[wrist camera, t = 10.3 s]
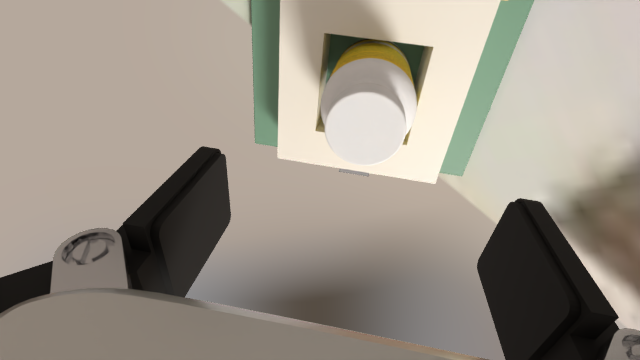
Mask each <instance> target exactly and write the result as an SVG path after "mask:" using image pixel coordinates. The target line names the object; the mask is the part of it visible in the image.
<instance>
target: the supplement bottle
mask: <svg viewBox="0 0 640 360" xmlns="http://www.w3.org/2000/svg"><path fill="white" fill-rule="evenodd" d="M416 111H417V98H416V93H415V88H414V84H413V80H412V75H411V71H410V67H409V63H408V60H407V58H406V56H405V54H404V53H403V51H402V50H401V49H400V48H399V47H398V46H397V45H396V44H394V43H393V42H391V41H384V40H376V39H368V38H365V39H362V40H359V41H357V42H355V43H353V44H352V45H350V46H349V47H348V48H347V49H346V50H345V51H344V52H343V53H342V55H341V56H340V58H339V60H338V61H337V63H336V65H335V67H334V69H333V71H332V73H331V75H330V77H329V79H328V81H327V83H326V85H325V88H324V91H323V94H322V98H321V116H322V120H323V123H324V126H325V127H324V129H325V136H326V140H327V142H328V144H329V146H330V148H331V149H332V150H333V152H334V153H335V154H336V155H337V156H339V157H340V158H341V159H343V160H345V161H347V162H349V163H352V164H355V165H362V166H368V165H375V164H379V163H382V162H384V161H386V160H388V159H389V158H391V157H392V156H393V155H394V154H395V153H396V152H397V151H398V150H399V149H400V147H401V146H402V144H403V142H404V139H405V136H406V134H407V133H408V132H409V130H410V129H411V127H412V125H413V123H414V120H415V116H416Z"/></svg>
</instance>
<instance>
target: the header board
mask: <svg viewBox="0 0 640 360" xmlns="http://www.w3.org/2000/svg"><path fill="white" fill-rule="evenodd" d="M533 2H534V0H251V12H252V44H253V45H252V46H253V83H254V84H253V85H254V120H255V121H254V122H255V143H257V144H263V145H270V146H276V147H278V157H277V158H280V159H287V160H293V161H299V162H304V163H311V164H317V165H323V166H329V167H336V168H339V172H344V173H351V174H357V175H363V176H369V173H372V174H378V175H384V176H391V177H396V178H403V179H409V180H415V181H421V182H427V183H433V184H435V183H436V180H437V177H438V174H439V173H444V174H451V175H457V176H462V175H463V173H464V171H465V168H466V166H467V163H468V161H469V158H470V156H471V154H472V151H473V149H474V146H475V144H476V141H477V139H478V136H479V134H480V132H481V129H482V127H483V124H484V122H485V119H486V117H487V114H488V112H489V110H490V107H491V105H492V102H493V100H494V97H495V95H496V92H497V90H498V88H499V85H500V83H501V80H502V78H503V75H504V73H505V70H506V68H507V66H508V63H509V61H510V58H511V56H512V53H513V51H514V48H515V46H516V44H517V41H518V39H519V36H520V34H521V31H522V29H523V26H524V24H525V22H526V19H527V17H528V14H529V12H530V9H531V7H532V4H533ZM365 38H368V39H376V40H384V41H391V42H393V43H394V44H396V45H397V46H398V47H399V48H400V49H401V50H402V51H403V53H404V54H405V56H406V58H407V60H408V63H409V67H410V71H411V75H412V80H413V84H414V88H415V93H416V98H417V111H416V116H415V120H414V123H413V125H412V127H411V129H410V130H409V132H408V133H407V134H406V136H405V139H404V142H403V144H402V146H401V147H400V149H399V150H398V151H397V152H396V153H395V154H394V155H393V156H392V157H391V158H389V159H388V160H386V161H384V162H382V163H379V164H375V165H368V166H362V165H355V164H352V163H349V162H347V161H345V160H343V159H341V158H340V157H339V156H337V155H336V154H335V153H334V152H333V150H332V149H331V148H330V146H329V144H328V142H327V140H326V136H325V129H324V127H325V126H324V123H323V120H322V116H321V98H322V94H323V91H324V88H325V85H326V83H327V81H328V79H329V77H330V75H331V73H332V71H333V69H334V67H335V65H336V63H337V61H338V60H339V58H340V56H341V55H342V53H343V52H344V51H345V50H346V49H347V48H348V47H349V46H350V45H352V44H353V43H355V42H357V41H359V40H362V39H365Z"/></svg>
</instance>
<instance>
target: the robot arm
mask: <svg viewBox="0 0 640 360" xmlns="http://www.w3.org/2000/svg"><path fill="white" fill-rule="evenodd" d="M229 201H230V200H229V189H228V178H227V167H226V157H225V155H224V154H221V151H220V150H219V149H215V148H209V147H201V148H199V149H198V150H197V151H196V152H195V153H194V154H193V155H192V156H191V157H190V158H189V159H188V160H187V161H186V162H185V163H184V164H183V165H182V166H181V167H180V168H179V169H178V170H177V171H176V172H175V173H174V174H173V175H172V176H171V177H170V178H169V179H168V180H166V182H164V184H162V186H160V187H159V188H158V189H157V190H156V191H155V192H154V193H153V194H152V195H151V196H150V197H149V198H148V199H147V200H146V201H145V202H144V203H143V204H142V205H141V206H140V207H139V208H138V209H137V210H136V211H135V212H134V213H133V214H132V215H131V216H130V217H129V218H128V219H127V220H126V221H125V222H124V223H123V225H122V226H121V227H120V228H119V229H118V230H117V231H115V230H112V229H108V228H96V229H90V230H86V231H83V232H80V233H78V234H76V235H74V236H72V237H70V238H68V239H67V240H66V241H64V242H63V243H62V244H61V245H60V246H59V247H58V248H57V250H56V251H55V254H54V257H53V261H51V262H48V263H45V264H42V265H39V266H35V267H32V268H30V269H26V270H23V271H20V272H17V273H14V274H11V275H7V276H4V277H1V278H0V360H488V359H483V358H479V357H474V356H469V355H465V354H460V353H455V352H450V351H446V350H441V349H436V348H431V347H426V346H422V345H417V344H413V343H408V342H403V341H398V340H393V339H389V338H384V337H379V336H374V335H369V334H365V333H360V332H354V331H350V330H344V329H340V328H335V327H331V326H326V325H320V324H316V323H311V322H306V321H301V320H296V319H292V318H286V317H282V316H277V315H271V314H267V313H261V312H257V311H252V310H246V309H242V308H237V307H231V306H226V305H222V304H216V303H212V302H206V301H201V300H195V299H190V298H185V296H186V294H187V292H188V291H189V289H190V287H191V286H192V284H193V283H194V281H195V279H196V278H197V276H198V274H199V273H200V271H201V269H202V267H203V266H204V264H205V263H206V261H207V259H208V258H209V256H210V254H211V253H212V251H213V249H214V248H215V246H216V244H217V243H218V241H219V239H220V238H221V236H222V234H223V233H224V231H225V229H226V228H227V226H228V224H229V222H230V217H231V212H230V202H229ZM477 269H478V273H479V276H480V280H481V283H482V286H483V289H484V292H485V295H486V299H487V302H488V305H489V308H490V312H491V315H492V318H493V321H494V324H495V328H496V331H497V334H498V337H499V340H500V344H501V346H502V350H503V353H504V356H505V359H506V360H640V331H638V330H635V329H628V328H624V329H619V328H618V326H617V325H616V323H615V322H614V321H615V320H617V319H618V318H619V317H618V315H617V314H616V312H615V311H614V309H613V308H612V307H611V305H610V304H609V302H608V301H607V299H606V298H605V296H604V295H603V293H602V292H601V290H600V289H599V287H598V286H597V284H596V283H595V281H594V280H593V278H592V277H591V275H590V274H589V273H588V271H587V270H586V268H585V267H584V265H583V264H582V262H581V261H580V259H579V258H578V256H577V255H576V253H575V252H574V250H573V249H572V247H571V246H570V244H569V243H568V241H567V240H566V238H565V237H564V236H563V234H562V233H561V231H560V230H559V228H558V227H557V225H556V224H555V222H554V221H553V219H552V218H551V216H550V215H549V213H548V212H547V210H546V209H545V207H544V206H543V204H542V203H541V202H538V201H533V200H527V199H521V198H520V199H517V200H516V201H515V202H510V203H509V204H508V206H507V208H506V210H505V211H504V213H503V215H502V217H501V219H500V221H499V223H498V224H497V226H496V228H495V230H494V232H493V234H492V236H491V237H490V239H489V241H488V243H487V245H486V247H485V248H484V250H483V252H482V254H481V256H480V258H479V260H478V264H477Z"/></svg>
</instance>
